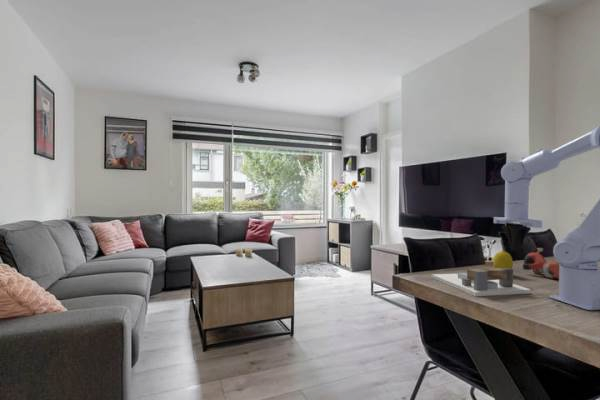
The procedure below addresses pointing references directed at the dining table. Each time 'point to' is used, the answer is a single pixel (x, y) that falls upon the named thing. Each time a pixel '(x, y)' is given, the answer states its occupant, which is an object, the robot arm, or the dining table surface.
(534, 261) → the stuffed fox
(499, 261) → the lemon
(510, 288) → the latch frame
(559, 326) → the dining table surface
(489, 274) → the latch bar
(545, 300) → the dining table surface
